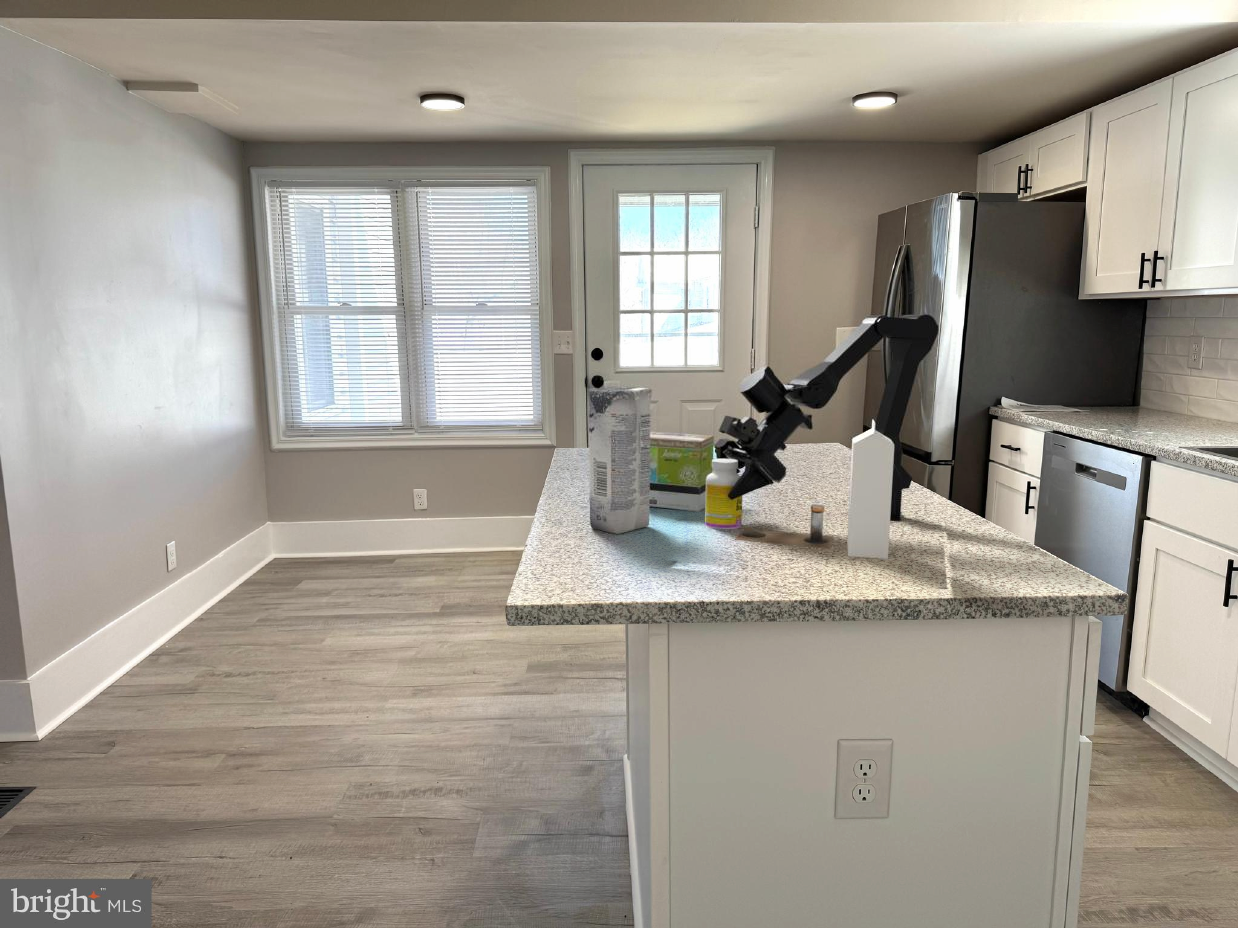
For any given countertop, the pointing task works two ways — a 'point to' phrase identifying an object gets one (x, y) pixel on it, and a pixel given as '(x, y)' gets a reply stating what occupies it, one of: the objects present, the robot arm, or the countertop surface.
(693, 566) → the countertop surface
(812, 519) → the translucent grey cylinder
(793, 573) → the countertop surface
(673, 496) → the tea box
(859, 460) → the milk
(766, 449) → the robot arm
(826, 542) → the plate
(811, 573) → the countertop surface
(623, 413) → the juice carton
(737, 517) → the supplement bottle
